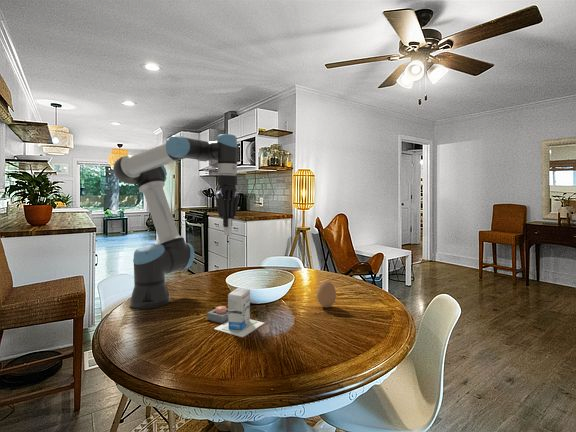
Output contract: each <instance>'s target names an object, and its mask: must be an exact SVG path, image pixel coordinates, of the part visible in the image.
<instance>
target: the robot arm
mask: <svg viewBox="0 0 576 432" xmlns="http://www.w3.org/2000/svg"><path fill="white" fill-rule="evenodd" d="M237 139H238V138H237V136H236V135H233V134H229V133H223V134H218V135H217V139H216V140H214V141H213V140H212V141H207V140H206V141H205V140H201V139H195V138H191V137H186V136H180V135H172V136H170V137H169V138H168V139H167V140H166V142H165V143H163V144H160V145H157V146H155V147H152V148H150V149H148V150H145V151H142V152H140V153H136V154H133V155H132V154H126V155H123V156H122V157H119V158H118V159H117V160H116V161H115V162H114V164H113V167H112V169H113V174H114V175H115V177H116V179H117V180H118V181H120V182H121V183H124V184H127V185H137V189H138V190H139V192H141V193H142V194H143V195H144V198H145V201H146V203H147V206H148V210H149V214H150V216H151V219H152V222H153V226H154V228H155V230H156V234H157V237H158V241H159V242H158V244H157V243H156V244H151V245H150V244H148V245H143V246H141V247H138V248H137V249H135V250H134V253H133V259H132V262H133V275H134V276H133V279H134V282H133V283H134V284H133V285H134V286H133V290H132V292H131V293H132V294H131V297H130V299H129V304H130V307H131V308H133V309H136V310H137V309H139V310H148V309H155V308H159V307H162V306H166V305H167V304H168V303H170V301H171V297H170V296H171V295H170V293H169V290H168V287H167V285H166V275H167V274H171V273H175V272H180V271H183V270H186V269H188V268H190V267H191V266H192V264H193V262H194V259H195V250H194V247H193V245H191V243H188V242H186V241H185V238H184V237H183V236H181V235H180V234H179V232H178V229H177V226H176V223H175V220H174V216H173V214H172V211H171V208H170V205H169V202H168V200H167V196H166V193H165V190H164V187H165V185H166V184H165V182H166V181H167V176H168V173H167V170H166V167H165V166H166V165H170V164H171V163H172V164H173V163H175V162H178V161H182V160H184V159H190V160H196V161H199V162H208V161H217V174H218V176H217V185H219V187H218V190H217V192H214V193H213V196H214V198H215V200H216V201H215V202H216V207H217V211H218V212H217V213H218V216H219V218H221V219H222V220H223V221H222V227H223V235H224V236H232V232H233V231H232V230H233V229H232V226H233V219H235V217H236V216H237V211H238V204H239V198H240V196H241V193H240V192H237V188H236V186H237V185H238V176H237V175H238V140H237Z"/></svg>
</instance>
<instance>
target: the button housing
mask: <svg viewBox="0 0 576 432" xmlns="http://www.w3.org/2000/svg"><path fill="white" fill-rule="evenodd" d="M206 319H207V320H208V321H212V322H216V323H220V324H224V323H225V322H227V321H228V308H227V307H226V313H224V314H222V315H221V314H217V313H216V308H214V309H212V310H210V311H207V312H206Z"/></svg>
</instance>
